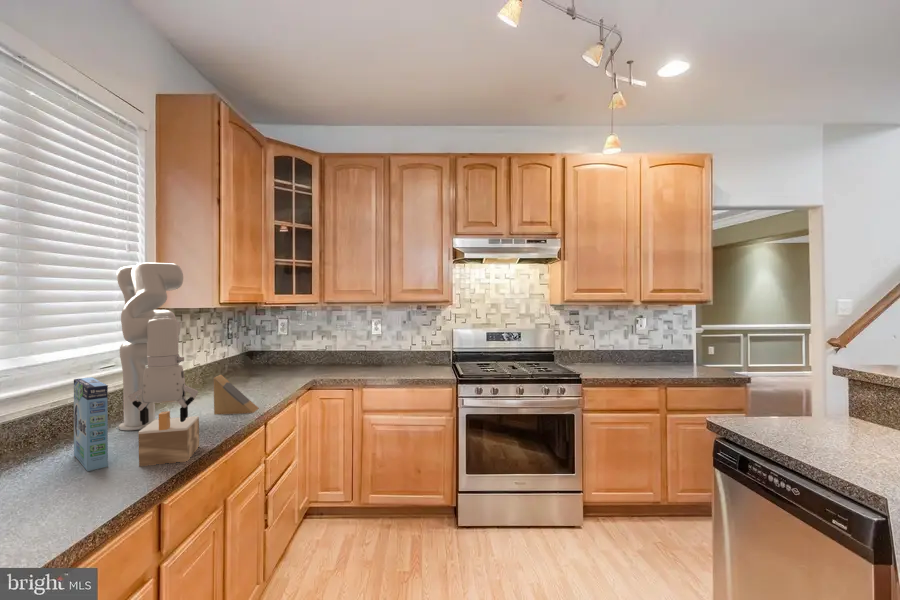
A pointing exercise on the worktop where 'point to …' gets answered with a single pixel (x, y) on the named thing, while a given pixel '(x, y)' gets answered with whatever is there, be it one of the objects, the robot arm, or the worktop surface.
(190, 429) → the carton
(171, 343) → the robot arm
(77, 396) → the gum box
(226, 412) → the sandwich container
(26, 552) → the worktop surface
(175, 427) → the lid
